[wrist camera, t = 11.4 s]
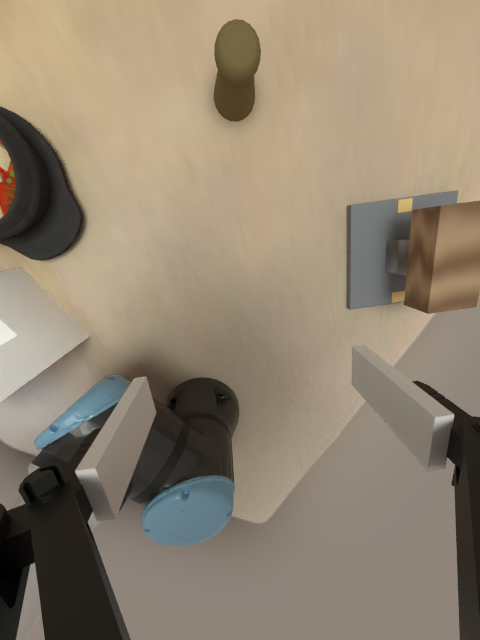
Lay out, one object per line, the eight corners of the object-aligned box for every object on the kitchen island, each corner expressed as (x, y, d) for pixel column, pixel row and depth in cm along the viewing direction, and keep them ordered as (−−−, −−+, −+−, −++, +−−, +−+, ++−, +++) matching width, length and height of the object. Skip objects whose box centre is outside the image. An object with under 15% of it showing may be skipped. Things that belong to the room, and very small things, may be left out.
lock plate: (438, 294, 49) (477, 304, 41) (346, 307, 49) (369, 320, 41) (450, 191, 43) (498, 182, 36) (347, 206, 43) (373, 199, 35)
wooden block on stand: (383, 214, 42) (440, 205, 31) (424, 208, 42) (496, 198, 31) (379, 295, 47) (427, 313, 36) (416, 290, 47) (476, 307, 36)
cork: (249, 126, 39) (259, 85, 28) (210, 115, 38) (205, 68, 28) (258, 78, 37) (272, 15, 26) (217, 65, 36) (215, -4, 26)
